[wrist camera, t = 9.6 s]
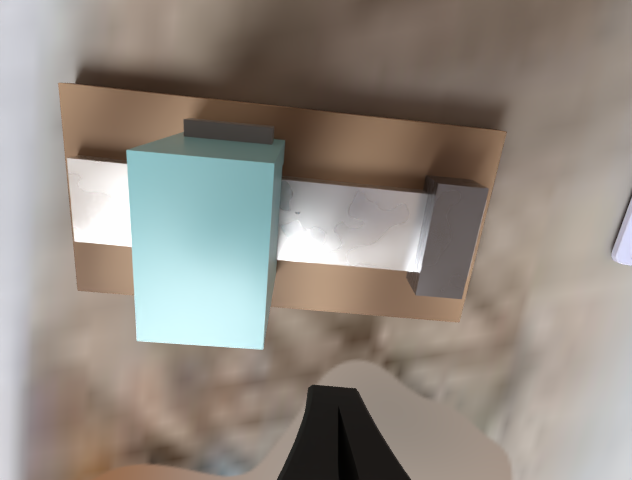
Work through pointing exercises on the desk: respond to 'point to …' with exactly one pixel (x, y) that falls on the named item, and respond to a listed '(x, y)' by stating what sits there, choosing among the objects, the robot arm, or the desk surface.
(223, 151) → the block
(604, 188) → the desk surface
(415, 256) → the rail
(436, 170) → the mounting board
